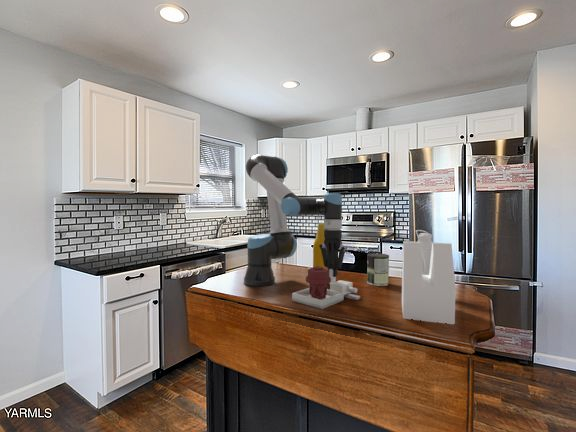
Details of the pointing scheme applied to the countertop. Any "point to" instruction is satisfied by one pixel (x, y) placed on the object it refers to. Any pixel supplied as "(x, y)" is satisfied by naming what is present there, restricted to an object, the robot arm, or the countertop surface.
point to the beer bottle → (316, 249)
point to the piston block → (343, 287)
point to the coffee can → (377, 269)
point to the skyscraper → (425, 250)
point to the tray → (321, 303)
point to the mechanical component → (318, 281)
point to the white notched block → (428, 284)
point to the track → (352, 296)
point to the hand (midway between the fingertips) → (332, 283)
